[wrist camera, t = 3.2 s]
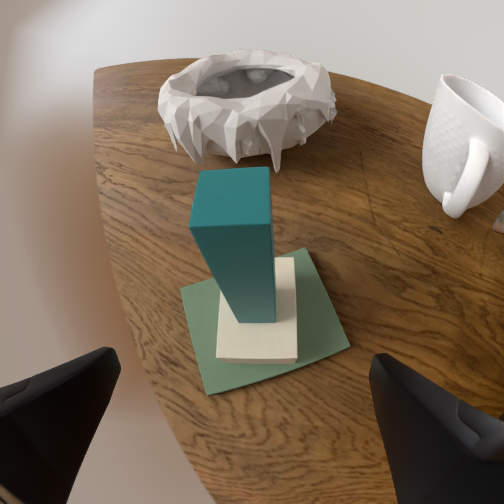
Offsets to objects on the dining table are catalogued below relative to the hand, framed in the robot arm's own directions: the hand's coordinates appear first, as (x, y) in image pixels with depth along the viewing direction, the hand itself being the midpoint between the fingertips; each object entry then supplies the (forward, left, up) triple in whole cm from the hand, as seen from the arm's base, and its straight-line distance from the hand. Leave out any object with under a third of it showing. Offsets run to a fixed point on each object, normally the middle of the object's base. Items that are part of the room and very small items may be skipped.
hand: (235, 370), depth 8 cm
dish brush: (+2, +5, -11) cm, 12 cm away
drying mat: (+2, +5, -12) cm, 13 cm away
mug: (+27, +10, -12) cm, 31 cm away
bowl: (+8, +27, -12) cm, 31 cm away
